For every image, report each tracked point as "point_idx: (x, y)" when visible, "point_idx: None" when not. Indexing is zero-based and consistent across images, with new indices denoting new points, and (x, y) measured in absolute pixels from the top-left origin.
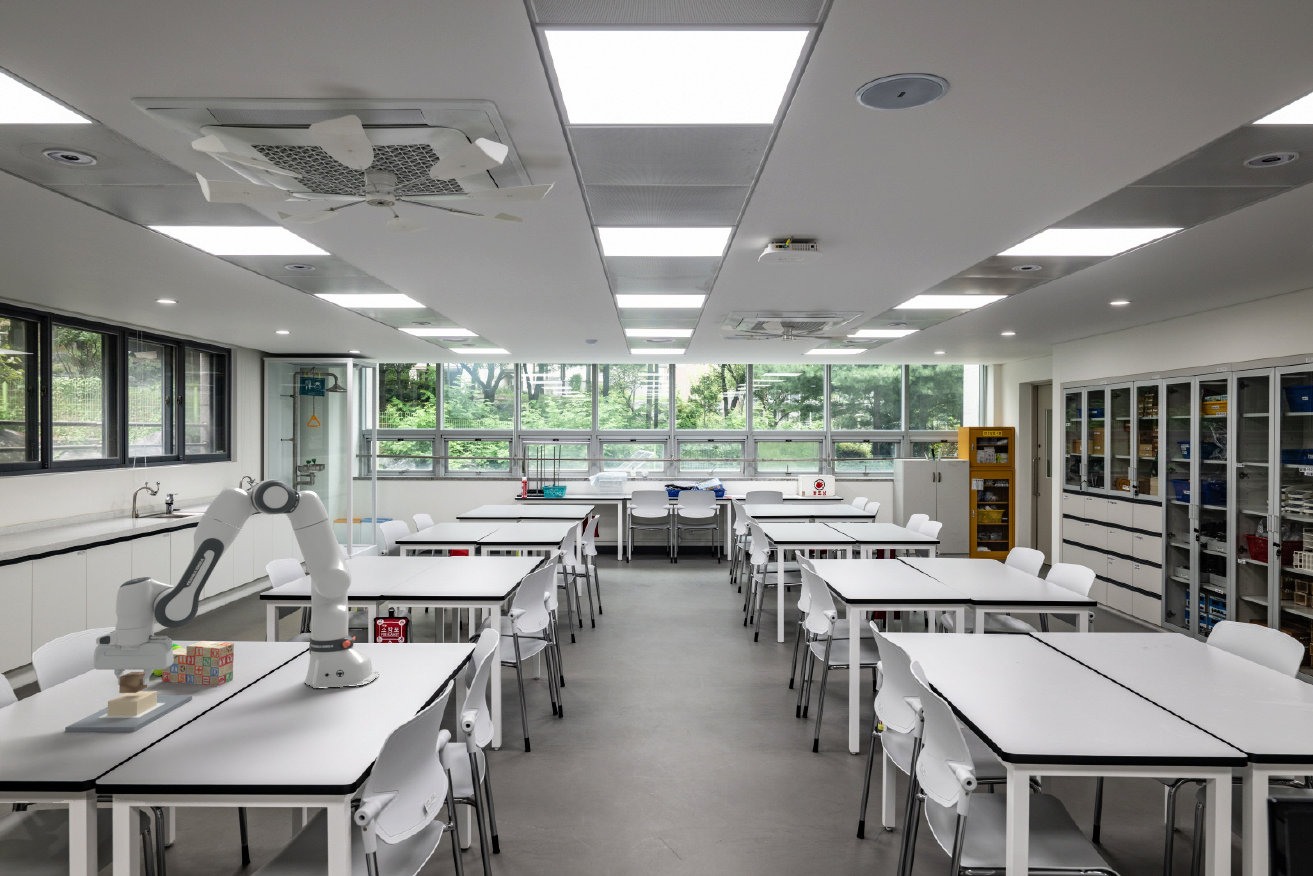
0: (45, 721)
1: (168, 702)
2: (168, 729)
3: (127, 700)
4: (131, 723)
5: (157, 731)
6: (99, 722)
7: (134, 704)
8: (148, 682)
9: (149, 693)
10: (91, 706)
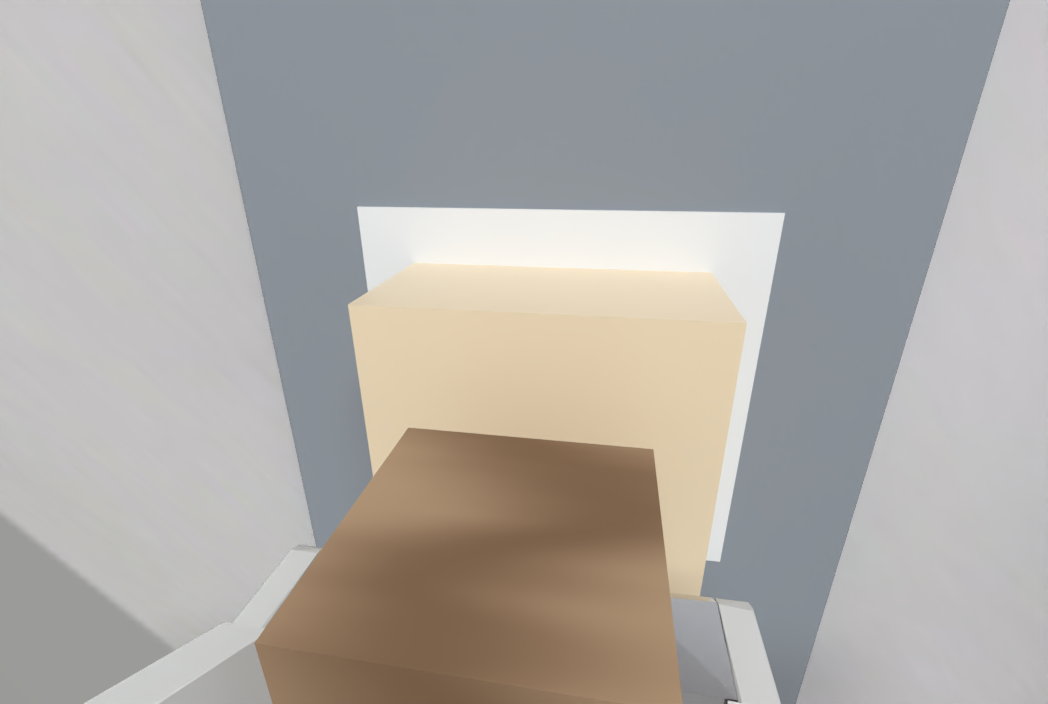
0: (72, 445)
1: (805, 181)
2: (1034, 679)
3: None
4: None
5: (957, 694)
6: None
7: None
8: (748, 616)
9: (680, 398)
10: (48, 158)
